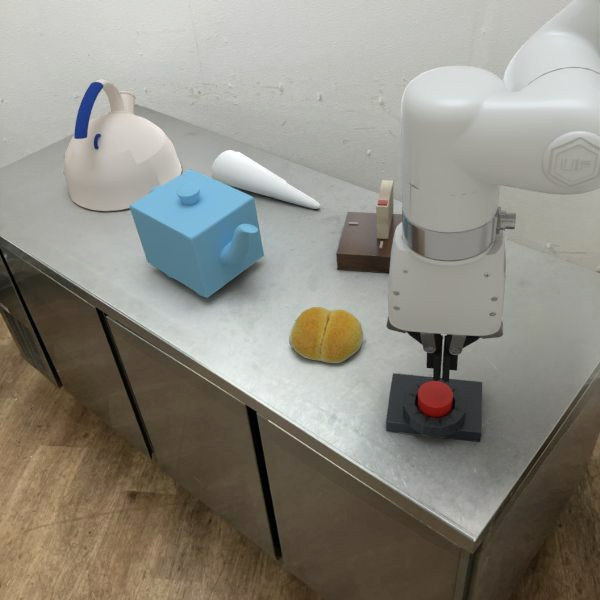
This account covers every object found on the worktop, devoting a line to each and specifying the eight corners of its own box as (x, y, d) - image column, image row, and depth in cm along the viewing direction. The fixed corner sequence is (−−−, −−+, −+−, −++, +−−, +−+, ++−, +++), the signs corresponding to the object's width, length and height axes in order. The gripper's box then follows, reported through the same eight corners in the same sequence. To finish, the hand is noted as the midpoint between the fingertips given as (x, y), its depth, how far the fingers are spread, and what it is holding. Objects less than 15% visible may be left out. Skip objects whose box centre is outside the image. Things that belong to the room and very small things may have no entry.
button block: (481, 391, 74) (484, 371, 71) (480, 452, 68) (483, 432, 65) (393, 382, 76) (392, 362, 74) (384, 440, 70) (384, 421, 68)
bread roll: (356, 370, 78) (354, 347, 75) (285, 359, 80) (281, 337, 77) (370, 322, 83) (369, 300, 81) (303, 313, 86) (300, 291, 83)
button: (452, 392, 70) (453, 382, 69) (451, 419, 67) (452, 409, 66) (419, 389, 71) (419, 379, 70) (416, 415, 68) (416, 405, 67)
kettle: (195, 149, 122) (173, 54, 109) (162, 213, 107) (133, 111, 95) (95, 150, 125) (63, 58, 113) (49, 212, 110) (7, 114, 98)
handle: (382, 211, 96) (382, 178, 92) (393, 212, 95) (393, 179, 92) (376, 238, 91) (376, 204, 87) (388, 239, 91) (387, 205, 87)
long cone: (295, 236, 101) (211, 187, 110) (321, 220, 105) (238, 174, 114) (297, 206, 97) (210, 158, 107) (324, 190, 101) (238, 144, 110)
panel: (429, 222, 98) (430, 205, 96) (423, 275, 89) (423, 257, 87) (350, 218, 101) (349, 201, 98) (337, 269, 92) (335, 252, 90)
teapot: (139, 264, 97) (112, 186, 88) (194, 227, 103) (175, 150, 93) (240, 326, 85) (221, 243, 76) (296, 281, 91) (286, 198, 82)
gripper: (542, 200, 54) (518, 349, 66) (364, 196, 58) (373, 339, 70) (547, 256, 49) (520, 407, 61) (351, 248, 52) (363, 393, 65)
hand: (441, 370), depth 65 cm, fingers closed
